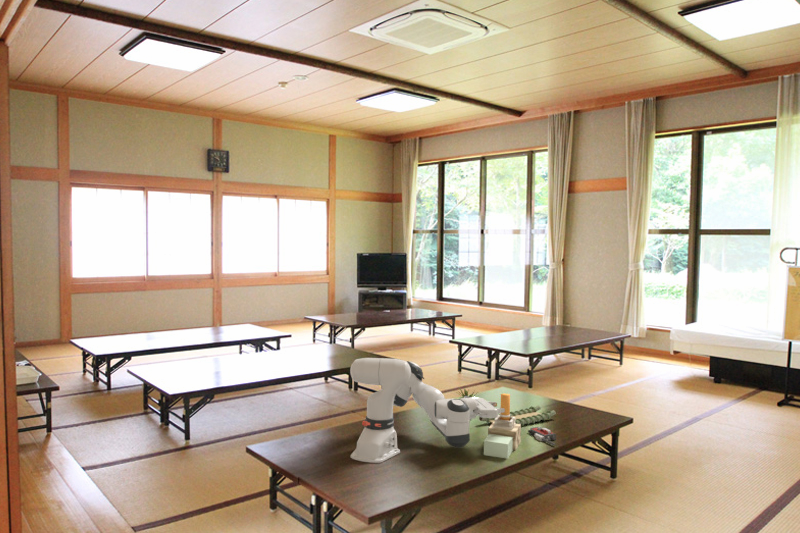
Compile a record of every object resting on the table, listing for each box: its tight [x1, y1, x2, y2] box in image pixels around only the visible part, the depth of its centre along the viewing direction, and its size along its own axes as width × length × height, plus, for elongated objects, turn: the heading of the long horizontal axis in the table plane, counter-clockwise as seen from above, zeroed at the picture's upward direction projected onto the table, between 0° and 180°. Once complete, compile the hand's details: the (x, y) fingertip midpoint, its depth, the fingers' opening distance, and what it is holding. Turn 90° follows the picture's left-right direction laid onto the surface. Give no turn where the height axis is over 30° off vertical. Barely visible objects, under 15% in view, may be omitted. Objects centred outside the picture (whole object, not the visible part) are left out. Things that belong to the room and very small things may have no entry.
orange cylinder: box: [499, 393, 511, 421], centre depth 248 cm, size 4×4×13 cm
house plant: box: [453, 387, 478, 421], centre depth 286 cm, size 14×14×16 cm
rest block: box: [483, 434, 514, 460], centre depth 237 cm, size 10×10×6 cm
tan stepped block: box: [487, 414, 522, 451], centre depth 248 cm, size 12×12×12 cm
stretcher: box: [478, 405, 557, 427], centre depth 282 cm, size 41×14×5 cm, turn 122°
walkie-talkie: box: [527, 426, 557, 446], centre depth 257 cm, size 9×4×20 cm
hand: (500, 407), depth 248 cm, fingers open, 8 cm apart
